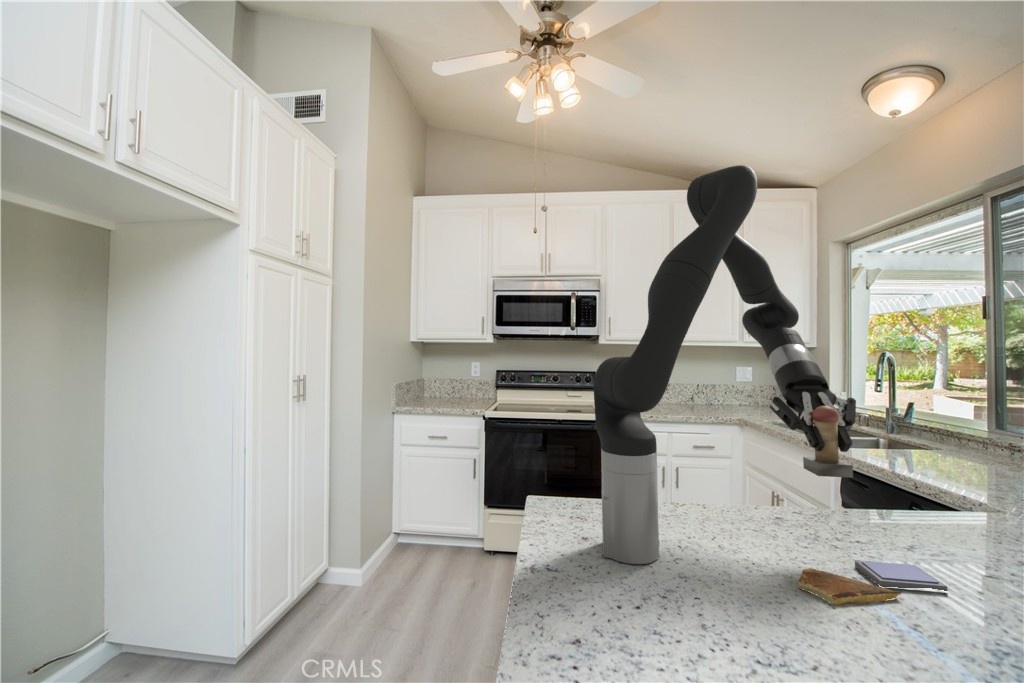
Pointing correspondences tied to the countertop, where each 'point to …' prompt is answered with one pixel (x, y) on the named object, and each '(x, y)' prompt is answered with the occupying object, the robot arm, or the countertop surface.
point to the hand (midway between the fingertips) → (833, 448)
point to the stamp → (827, 447)
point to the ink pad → (898, 575)
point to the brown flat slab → (842, 588)
